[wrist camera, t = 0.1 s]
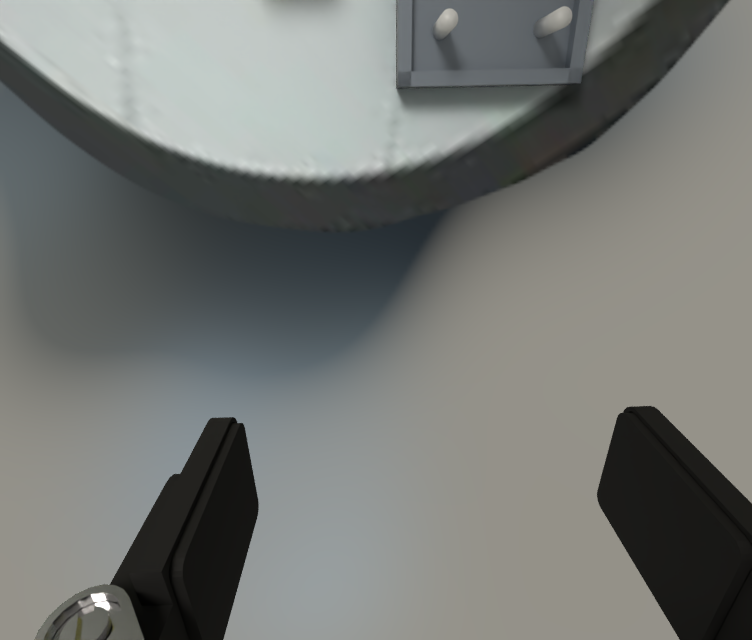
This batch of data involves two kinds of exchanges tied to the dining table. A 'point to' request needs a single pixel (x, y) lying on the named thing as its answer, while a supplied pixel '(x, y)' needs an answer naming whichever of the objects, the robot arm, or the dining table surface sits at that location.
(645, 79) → the dining table surface
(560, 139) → the dining table surface
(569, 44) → the tray
